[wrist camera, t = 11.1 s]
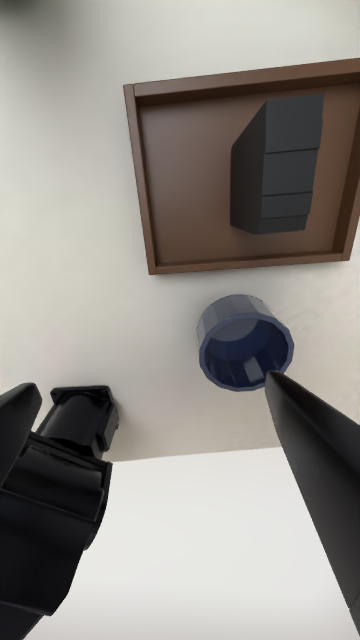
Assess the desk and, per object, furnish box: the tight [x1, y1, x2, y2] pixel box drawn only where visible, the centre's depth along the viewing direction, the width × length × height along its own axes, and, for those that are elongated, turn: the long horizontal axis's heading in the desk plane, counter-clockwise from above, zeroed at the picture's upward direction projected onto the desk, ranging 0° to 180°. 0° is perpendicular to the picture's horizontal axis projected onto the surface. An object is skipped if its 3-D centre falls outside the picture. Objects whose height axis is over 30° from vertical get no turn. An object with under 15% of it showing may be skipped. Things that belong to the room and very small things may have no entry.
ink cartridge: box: [230, 93, 325, 235], centre depth 13 cm, size 5×2×8 cm, turn 4°
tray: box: [123, 58, 360, 275], centre depth 16 cm, size 15×11×2 cm
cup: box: [197, 295, 294, 392], centre depth 21 cm, size 8×8×4 cm
